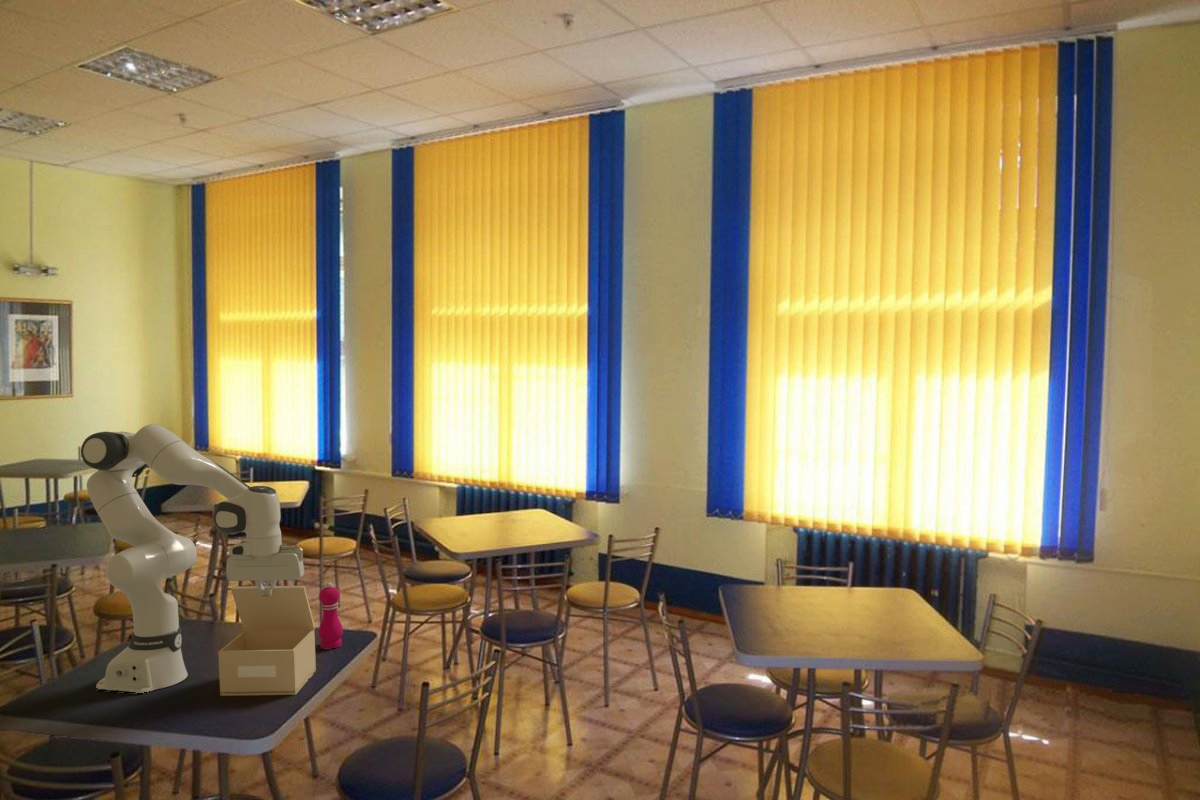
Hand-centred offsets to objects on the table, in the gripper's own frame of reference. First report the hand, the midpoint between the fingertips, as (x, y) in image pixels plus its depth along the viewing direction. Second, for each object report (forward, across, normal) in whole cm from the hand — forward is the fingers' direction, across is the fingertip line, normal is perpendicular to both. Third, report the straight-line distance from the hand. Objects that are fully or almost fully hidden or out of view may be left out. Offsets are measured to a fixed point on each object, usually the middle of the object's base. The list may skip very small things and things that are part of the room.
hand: (266, 595), depth 228 cm
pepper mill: (+24, -8, -28) cm, 38 cm away
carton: (+24, 0, 0) cm, 24 cm away
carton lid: (+5, 0, -4) cm, 7 cm away
